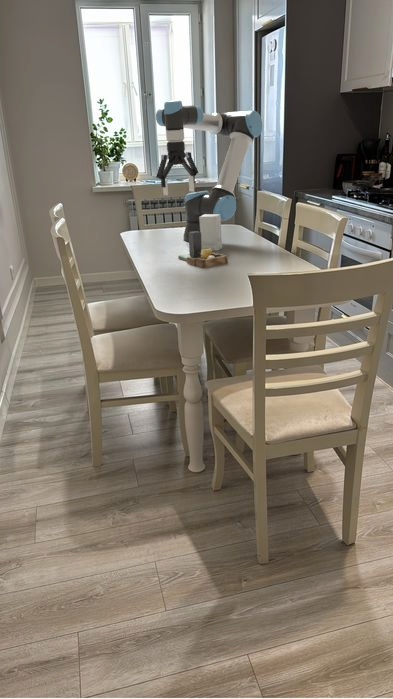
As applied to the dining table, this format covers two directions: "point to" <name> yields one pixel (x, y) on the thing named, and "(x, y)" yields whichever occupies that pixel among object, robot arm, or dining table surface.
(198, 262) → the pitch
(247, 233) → the dining table surface
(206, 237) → the skincare box
